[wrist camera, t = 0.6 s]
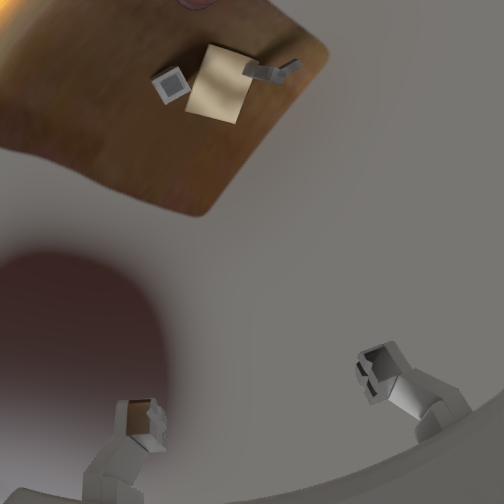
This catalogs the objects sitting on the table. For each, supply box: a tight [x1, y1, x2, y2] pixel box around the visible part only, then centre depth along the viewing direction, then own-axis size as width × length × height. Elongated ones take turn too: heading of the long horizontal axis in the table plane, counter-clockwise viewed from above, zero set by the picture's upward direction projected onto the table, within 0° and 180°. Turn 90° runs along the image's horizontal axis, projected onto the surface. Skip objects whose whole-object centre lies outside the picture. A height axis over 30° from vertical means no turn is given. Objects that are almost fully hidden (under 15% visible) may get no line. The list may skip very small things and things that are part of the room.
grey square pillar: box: [149, 66, 191, 105], centre depth 37 cm, size 4×4×9 cm
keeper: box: [185, 44, 302, 124], centre depth 39 cm, size 13×11×12 cm
